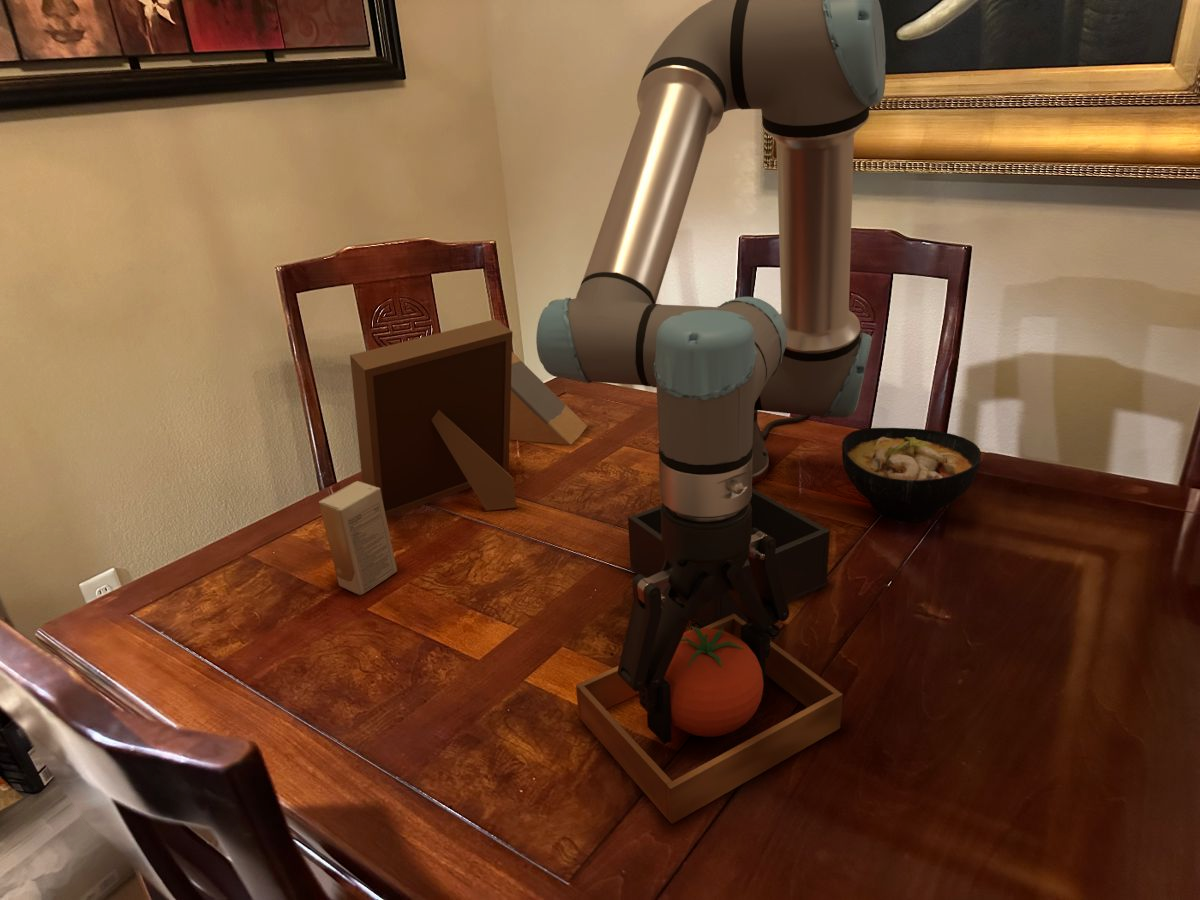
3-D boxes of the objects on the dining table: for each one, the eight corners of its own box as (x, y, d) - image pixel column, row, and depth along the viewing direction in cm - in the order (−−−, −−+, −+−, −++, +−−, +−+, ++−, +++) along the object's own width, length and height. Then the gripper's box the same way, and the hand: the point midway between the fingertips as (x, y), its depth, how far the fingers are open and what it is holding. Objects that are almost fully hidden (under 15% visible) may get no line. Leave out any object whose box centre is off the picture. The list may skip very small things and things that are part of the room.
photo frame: (365, 511, 122) (333, 345, 112) (494, 465, 134) (476, 311, 123) (411, 550, 111) (379, 371, 101) (546, 497, 123) (531, 331, 112)
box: (733, 644, 90) (734, 613, 88) (840, 728, 78) (843, 694, 76) (578, 717, 81) (575, 684, 79) (671, 824, 69) (670, 788, 67)
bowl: (851, 472, 125) (856, 409, 120) (977, 490, 117) (986, 424, 113) (825, 526, 111) (830, 457, 107) (966, 550, 104) (976, 477, 99)
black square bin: (734, 529, 111) (735, 478, 108) (826, 586, 98) (830, 530, 95) (630, 569, 104) (627, 516, 101) (714, 637, 91) (714, 578, 88)
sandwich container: (571, 445, 139) (564, 359, 133) (488, 438, 144) (477, 354, 138) (589, 425, 146) (583, 342, 140) (509, 419, 151) (500, 338, 145)
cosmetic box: (375, 563, 109) (359, 478, 104) (398, 572, 106) (382, 486, 101) (335, 587, 104) (316, 500, 99) (358, 597, 102) (340, 508, 97)
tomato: (762, 766, 74) (765, 676, 70) (646, 756, 76) (642, 667, 72) (762, 687, 83) (764, 603, 79) (659, 680, 85) (656, 598, 81)
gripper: (613, 566, 61) (627, 790, 71) (839, 478, 72) (825, 683, 81) (563, 525, 67) (582, 736, 77) (778, 449, 78) (772, 643, 87)
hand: (707, 709), depth 79 cm, fingers closed on tomato, 10 cm apart
